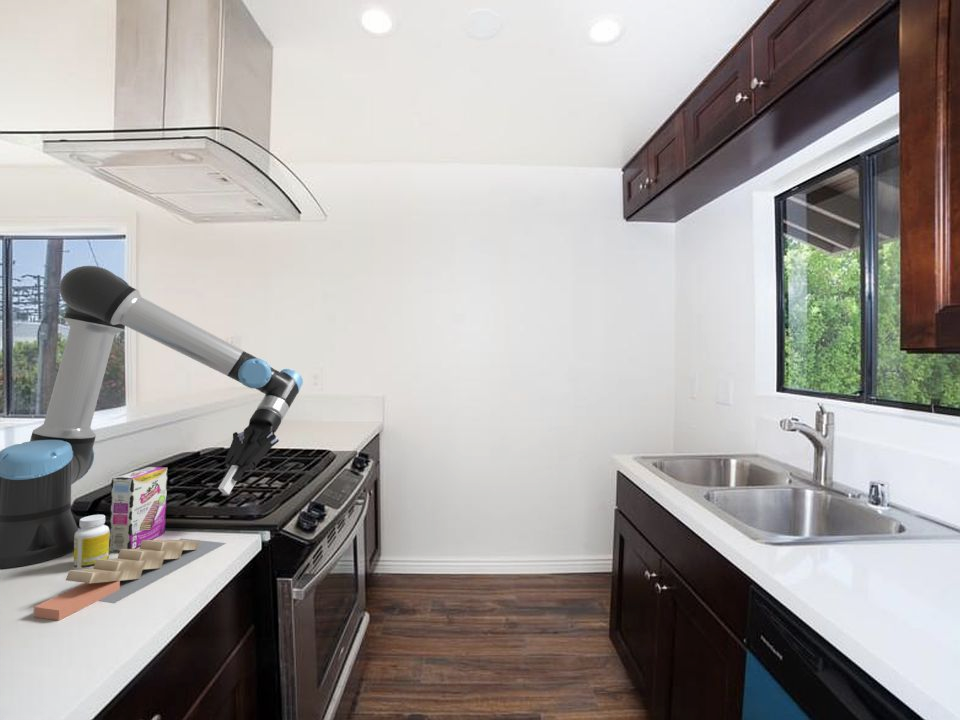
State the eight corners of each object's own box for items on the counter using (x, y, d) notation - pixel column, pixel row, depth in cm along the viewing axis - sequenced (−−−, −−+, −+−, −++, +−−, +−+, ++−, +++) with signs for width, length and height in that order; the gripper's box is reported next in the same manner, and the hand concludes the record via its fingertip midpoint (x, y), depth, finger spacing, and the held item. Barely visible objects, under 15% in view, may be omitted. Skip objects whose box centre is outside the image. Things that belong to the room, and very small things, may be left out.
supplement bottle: (115, 560, 93) (116, 513, 93) (90, 572, 88) (91, 523, 88) (92, 558, 94) (93, 512, 94) (65, 570, 88) (66, 521, 88)
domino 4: (162, 548, 96) (120, 549, 86) (182, 550, 95) (142, 551, 86) (160, 556, 95) (117, 558, 86) (180, 558, 94) (139, 560, 85)
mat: (181, 539, 104) (181, 538, 104) (226, 544, 102) (226, 543, 102) (58, 596, 79) (58, 595, 79) (114, 604, 77) (114, 602, 77)
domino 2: (121, 566, 87) (69, 570, 77) (142, 569, 86) (92, 573, 77) (118, 575, 86) (65, 580, 77) (139, 578, 85) (89, 583, 76)
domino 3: (142, 557, 91) (96, 559, 82) (163, 559, 90) (119, 561, 81) (140, 565, 91) (93, 568, 81) (161, 568, 90) (115, 571, 80)
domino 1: (97, 577, 82) (34, 606, 72) (119, 580, 81) (59, 610, 71) (97, 586, 82) (33, 616, 72) (119, 589, 81) (58, 620, 71)
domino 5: (180, 539, 100) (142, 540, 91) (199, 541, 99) (163, 542, 90) (177, 547, 99) (139, 548, 90) (197, 549, 99) (160, 551, 89)
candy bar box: (131, 553, 97) (132, 478, 97) (108, 553, 97) (109, 477, 97) (167, 533, 108) (168, 466, 108) (146, 533, 108) (148, 465, 108)
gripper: (295, 424, 127) (254, 500, 111) (254, 422, 129) (208, 497, 113) (284, 408, 122) (239, 485, 105) (242, 406, 124) (191, 481, 108)
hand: (223, 491), depth 109 cm, fingers closed
